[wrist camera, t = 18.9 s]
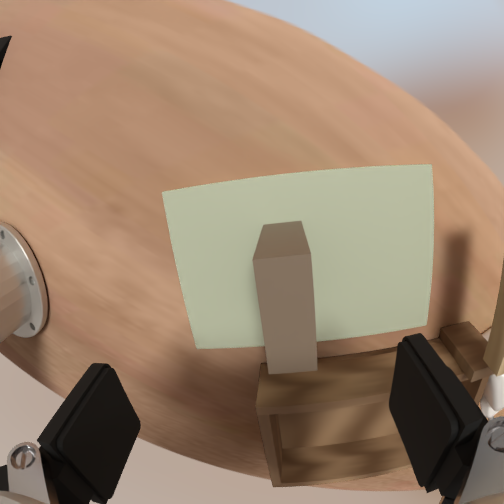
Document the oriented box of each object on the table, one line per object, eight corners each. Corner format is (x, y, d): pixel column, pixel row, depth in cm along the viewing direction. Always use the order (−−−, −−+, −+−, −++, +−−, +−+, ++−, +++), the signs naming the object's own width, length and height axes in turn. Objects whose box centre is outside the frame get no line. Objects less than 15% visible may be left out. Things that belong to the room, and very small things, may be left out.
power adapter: (504, 384, 22) (527, 416, 16) (471, 408, 23) (490, 443, 17) (498, 316, 20) (533, 350, 14) (459, 346, 21) (488, 386, 15)
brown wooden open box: (276, 453, 26) (273, 500, 21) (259, 353, 22) (251, 409, 17) (437, 427, 24) (454, 466, 18) (468, 321, 20) (504, 360, 14)
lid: (199, 341, 23) (168, 411, 16) (167, 190, 20) (105, 209, 12) (421, 319, 21) (465, 380, 13) (425, 164, 18) (494, 170, 10)
